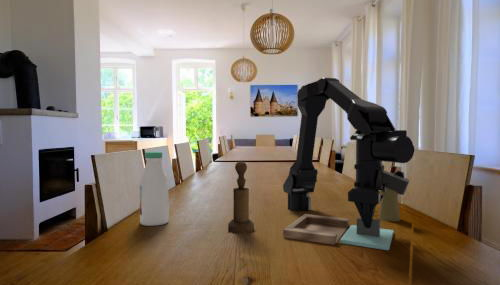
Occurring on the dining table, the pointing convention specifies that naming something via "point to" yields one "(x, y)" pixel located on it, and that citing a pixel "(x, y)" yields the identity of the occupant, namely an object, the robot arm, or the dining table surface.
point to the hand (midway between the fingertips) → (368, 226)
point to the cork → (389, 206)
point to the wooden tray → (317, 229)
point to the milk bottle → (153, 191)
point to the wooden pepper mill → (241, 204)
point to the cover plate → (368, 235)
